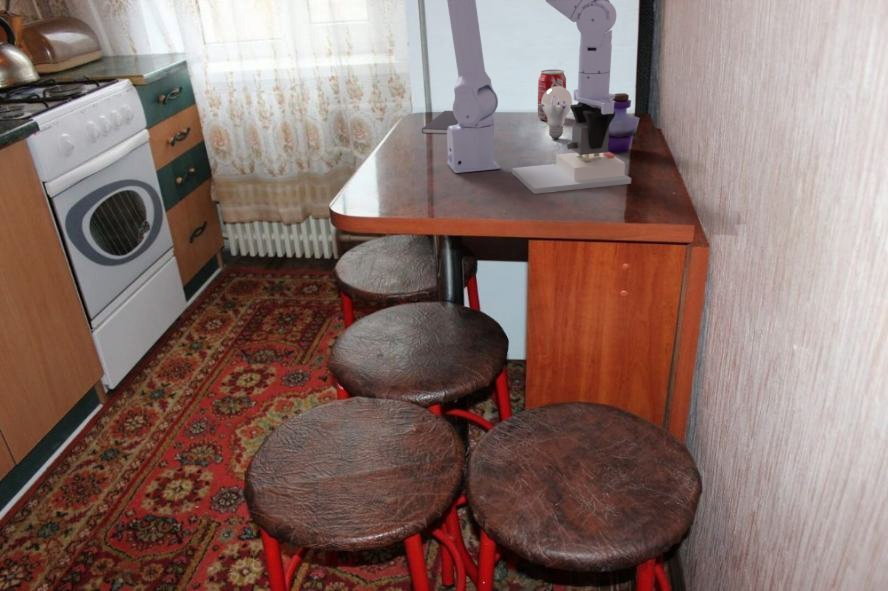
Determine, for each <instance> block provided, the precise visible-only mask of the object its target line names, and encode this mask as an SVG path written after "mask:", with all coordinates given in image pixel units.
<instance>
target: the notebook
mask: <svg viewBox="0 0 888 591" xmlns="http://www.w3.org/2000/svg"><path fill="white" fill-rule="evenodd" d="M457 124H458V121H457V120H456V118H455V116H454V114H453V110H444V111H443V112H441V113H440V114H439V115H438V116H437V115H436V117H435V118H433V119H432V120H431V121H430V122H428V123H427V124H426V125H425V126H423V127H422V128H421V132H422V134H423V133H424V134H447V129H448V127H449V126H453V125H457Z"/></svg>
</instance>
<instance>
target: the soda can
mask: <svg viewBox="0 0 888 591" xmlns="http://www.w3.org/2000/svg"><path fill="white" fill-rule="evenodd" d="M554 86H561V87H564V88H565V89H567V78H566V75H565V70H562V69H545V70H541V71H540V75H539V77H538V83H537V116H538V118H539V119H541V121H543V120H544V121H545V122H548V120H547V117H546V115H545V113H544V111H543V109H542V104H541V101H542V97H543V95H544V93H545V92H546V91H547V90H548V89H549V88H551V87H554Z"/></svg>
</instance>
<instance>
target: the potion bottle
mask: <svg viewBox="0 0 888 591" xmlns="http://www.w3.org/2000/svg"><path fill="white" fill-rule="evenodd" d="M614 95H615V98H614V99H611V101H612V102H614V111H615V117H614V118H613V119H612V121H611V123H610V125H609V139H608V152H610V153H612V154H627V153H629V152H630V151H631V150H630V148H631V145H632V142H633V139H634V137H635V136H636V134H637V131H638V126H639V122H640V120H641V119H640V117H638V116H635V115H632V114H628V113H627V111H628V109H629V108H631V106H632V100H630V99H629V96H630V95H629V94H627V93H625V92H623V93H621V92H620V93H614Z"/></svg>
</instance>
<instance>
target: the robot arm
mask: <svg viewBox="0 0 888 591" xmlns="http://www.w3.org/2000/svg"><path fill="white" fill-rule="evenodd" d="M446 2H447V7H448V15H449V22H450V28H451V34H452V41H453V48H454V49H453V50H454V55H455V60H456V68H457V75H458V77H457V80H456V83H455V85H454V89H453V90H454V101H453V103H452V111H453V114H454V116H455V118H456V120H457V121H458V124H457V125H453V126H449V127H448V129H447V133H446V143H447V144H446V146H447V165H448V166H449V167H450V169H452V171H453V172H454V173H455V174H461V173H470V172H471V173H472V172H481V171H488V170H489V171H491V170H500V169H501V166H500V165H499V164H498V163H497V162H496V161H495V127H494V126H495V124H494V123H495V120H494V117H493V115H494V113H495V112H496V111H497V109H498V106H499V99H498V95H497V93H496V92H495V90H494V88H493V85H492V80H491V78H490V76H489V75H488V73H487V72H486V69H485V68H486V67H485V61H484V54H483V47H482V39H481V32H480V31H481V30H480V25H479V16H478V8H477V0H446ZM545 2H546V3H547V4H548V5H549V6H551V7H552V8H554V9H555V10H557V11H558V12H559V13H560V14H562V15H563V16H565V18H567V19H569V20H570V21H571V22H572V23H576V27H577V30H578V31H579V33H580V44H579V49H578V50H579V51H578V52H579V53H578V54H579V55H578V76H577V77H578V78H577V80H578V81H577V89H573V101H576V102H577V104H572V105H571V106H570V108H571V109H570V111H571V112H572V114H573V117H574V119H575V123H583V122H587V126H588V134H589V145H590V148H591V149H597V148H602V145H603V142H604V138H605V135H606V132H607V129H608V127H609V125H610V123H611V121H612V119H613V118H614V117H615V111H614V102H612V101H611V100H612V99H614V98H615V95H614V94H615V93H614V94H613V93H610V82H611V80H610V79H611V66H612V65H611V64H612V49H613V45H612V38H613V30H612V29H613V27H614V26H615V24H616V20H617V11H616V7H615V6H614V5H613V4H612V3H611V1H610V0H545Z"/></svg>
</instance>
